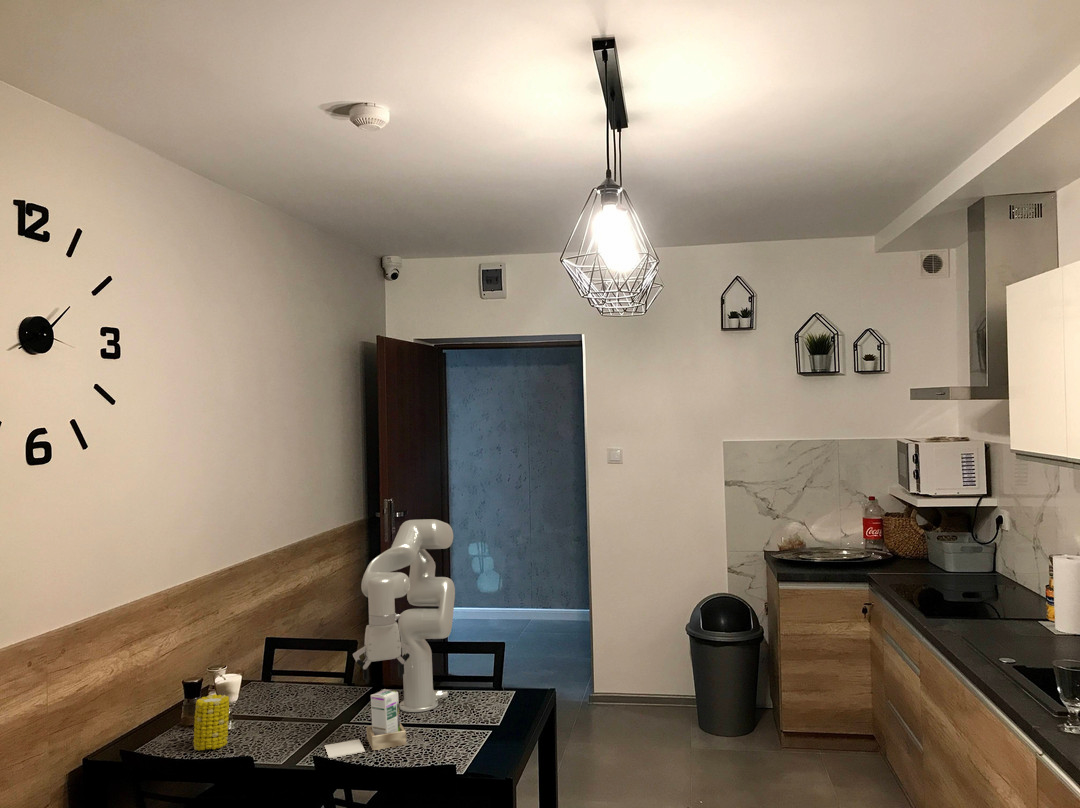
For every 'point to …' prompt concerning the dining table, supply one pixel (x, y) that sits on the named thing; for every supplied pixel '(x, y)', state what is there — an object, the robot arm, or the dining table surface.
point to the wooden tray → (386, 739)
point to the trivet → (344, 748)
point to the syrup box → (385, 712)
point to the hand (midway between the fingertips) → (383, 679)
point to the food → (211, 722)
